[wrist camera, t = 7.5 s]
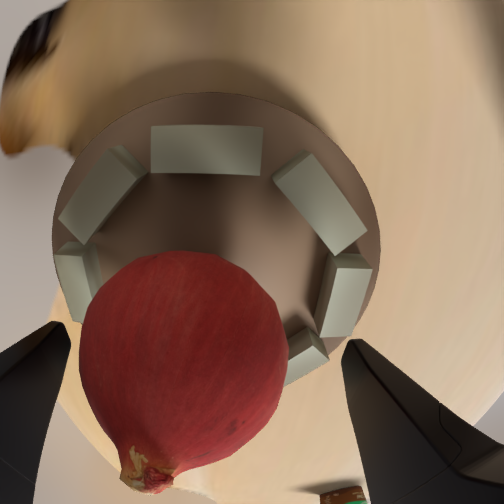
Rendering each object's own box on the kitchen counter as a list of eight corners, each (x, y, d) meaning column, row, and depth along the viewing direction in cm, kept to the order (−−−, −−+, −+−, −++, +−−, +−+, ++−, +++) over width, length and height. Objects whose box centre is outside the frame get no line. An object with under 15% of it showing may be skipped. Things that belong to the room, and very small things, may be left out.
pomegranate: (271, 346, 12) (265, 528, 5) (145, 327, 12) (76, 483, 5) (296, 221, 9) (337, 480, 2) (132, 204, 9) (-36, 367, 2)
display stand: (385, 119, 10) (428, 124, 7) (327, 364, 16) (340, 405, 13) (62, 110, 9) (17, 114, 6) (104, 353, 15) (88, 391, 12)
